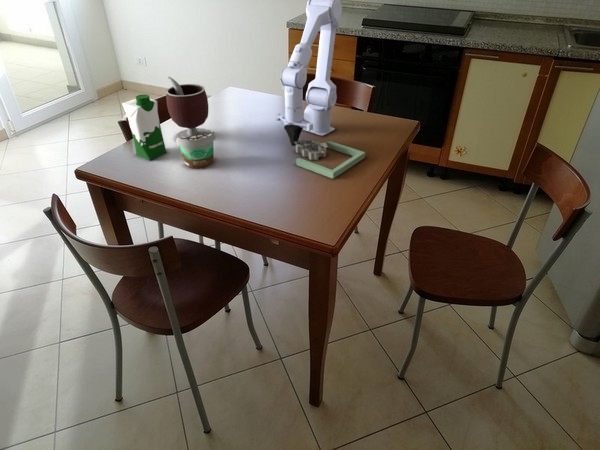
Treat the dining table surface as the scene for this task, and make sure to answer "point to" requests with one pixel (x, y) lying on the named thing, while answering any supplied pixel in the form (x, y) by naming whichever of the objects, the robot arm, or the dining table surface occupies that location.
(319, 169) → the frame
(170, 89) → the mate gourd
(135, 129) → the milk carton
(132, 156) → the dining table surface
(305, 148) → the egg carton
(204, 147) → the food container
